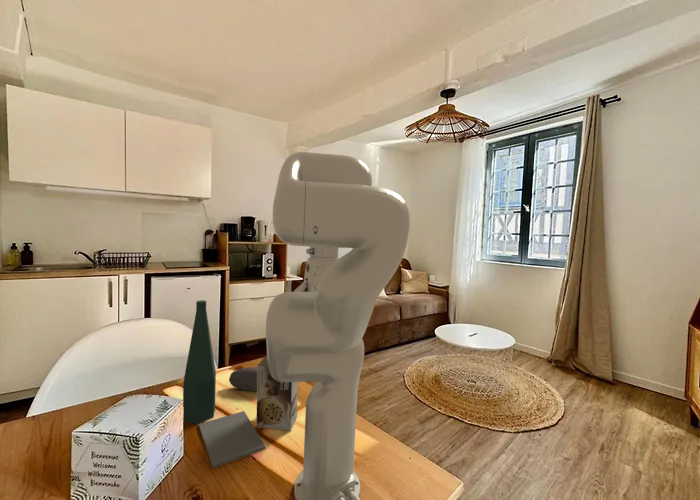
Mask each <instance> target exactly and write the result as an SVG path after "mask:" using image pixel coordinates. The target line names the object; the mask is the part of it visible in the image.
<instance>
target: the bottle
mask: <svg viewBox="0 0 700 500" xmlns="http://www.w3.org/2000/svg"><path fill="white" fill-rule="evenodd" d="M195 305H196V307H195V308H196V310H195V315H194V316H195V317H194V322H193V326H192V333H191V338H190V344H189V350H188V354H187V360H186V367H185V372H184V376H183V383H182V391H183V392H182V396H183V397H182V408H183V407H184V423H189V424H193V425H199V424H201V423H204V422H207V421H210V420H212V419H214V418H215V417H214V416H215V413H216V412H215V411H216V387H217V386H216V384H217V383H216V381H217V380H216V379H217V376H216V375H217V371H216V366H215V358H214V352H213V346H212V339H211V332H210V326H209V320H208V313H207V300H196V303H195Z"/></svg>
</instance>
